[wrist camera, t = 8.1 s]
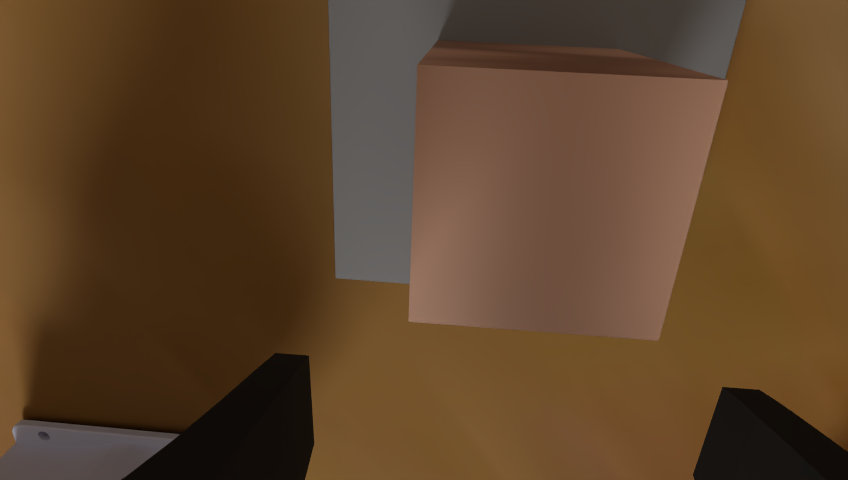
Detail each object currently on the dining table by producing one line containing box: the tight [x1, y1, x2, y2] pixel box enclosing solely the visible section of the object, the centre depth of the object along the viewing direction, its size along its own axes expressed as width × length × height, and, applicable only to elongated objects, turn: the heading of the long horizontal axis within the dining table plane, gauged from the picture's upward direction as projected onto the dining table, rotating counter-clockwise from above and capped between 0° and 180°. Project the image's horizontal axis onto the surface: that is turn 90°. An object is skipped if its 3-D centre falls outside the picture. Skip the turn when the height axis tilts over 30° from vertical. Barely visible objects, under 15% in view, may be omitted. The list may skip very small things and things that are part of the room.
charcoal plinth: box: [328, 0, 746, 284], centre depth 15 cm, size 10×10×3 cm
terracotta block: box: [409, 40, 728, 341], centre depth 11 cm, size 4×4×6 cm
